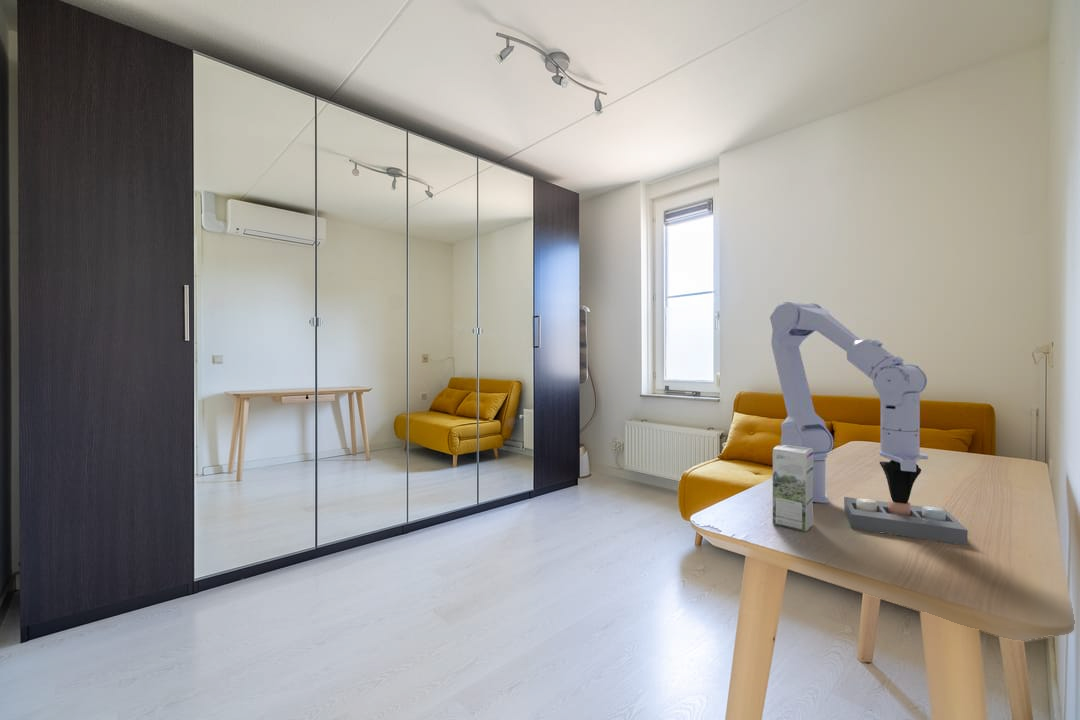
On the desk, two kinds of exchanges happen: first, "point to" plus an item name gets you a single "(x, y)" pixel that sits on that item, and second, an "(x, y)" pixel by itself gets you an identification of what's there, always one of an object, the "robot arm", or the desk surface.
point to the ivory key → (866, 504)
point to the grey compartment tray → (905, 523)
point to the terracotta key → (898, 508)
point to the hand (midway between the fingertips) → (899, 502)
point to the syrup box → (793, 487)
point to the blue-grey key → (933, 513)
